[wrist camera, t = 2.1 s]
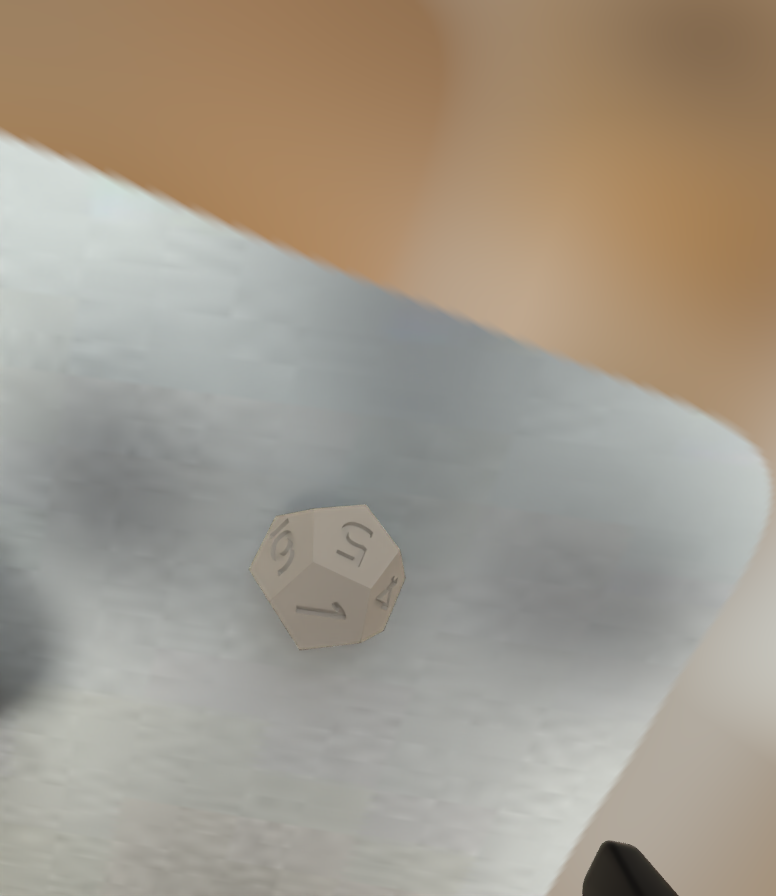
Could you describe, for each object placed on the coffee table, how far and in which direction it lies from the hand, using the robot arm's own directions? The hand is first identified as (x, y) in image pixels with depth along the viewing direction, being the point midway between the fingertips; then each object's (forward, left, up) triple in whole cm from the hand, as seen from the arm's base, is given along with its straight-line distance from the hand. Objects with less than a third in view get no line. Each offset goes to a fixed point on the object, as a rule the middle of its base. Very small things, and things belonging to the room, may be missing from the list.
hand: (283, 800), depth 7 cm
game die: (0, 0, -8) cm, 8 cm away
